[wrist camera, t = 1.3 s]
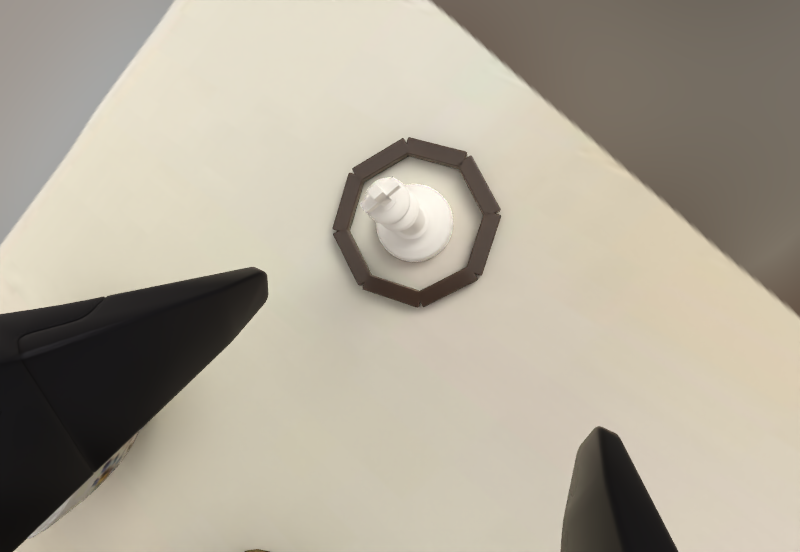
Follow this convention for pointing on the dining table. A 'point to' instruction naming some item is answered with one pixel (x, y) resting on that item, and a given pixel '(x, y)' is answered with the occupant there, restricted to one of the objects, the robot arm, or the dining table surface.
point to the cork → (256, 551)
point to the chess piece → (409, 218)
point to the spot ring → (387, 160)
